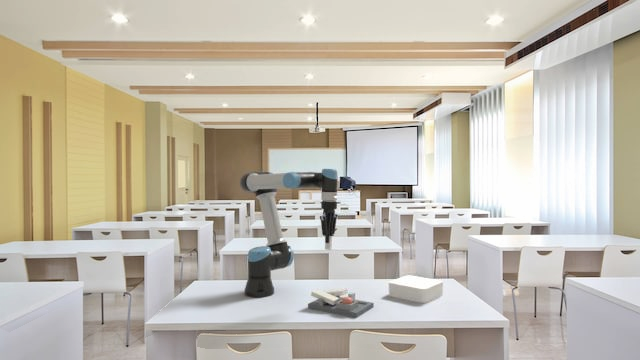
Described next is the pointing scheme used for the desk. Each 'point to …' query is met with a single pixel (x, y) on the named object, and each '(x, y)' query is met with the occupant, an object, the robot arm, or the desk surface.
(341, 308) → the panel
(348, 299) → the button
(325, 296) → the block
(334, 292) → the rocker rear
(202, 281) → the desk surface
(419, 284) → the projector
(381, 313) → the desk surface
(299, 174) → the robot arm
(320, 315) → the desk surface
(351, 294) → the block
